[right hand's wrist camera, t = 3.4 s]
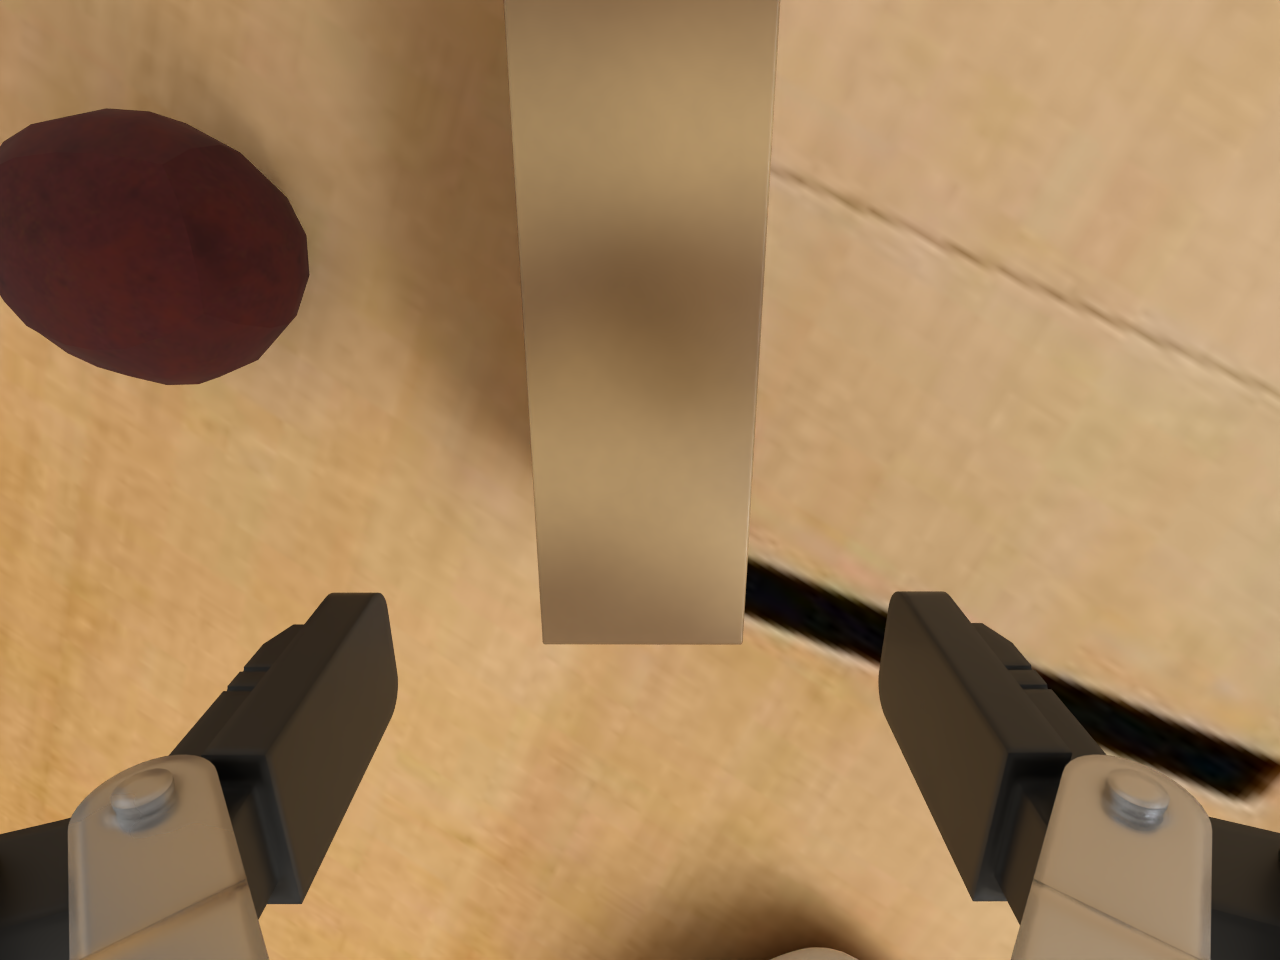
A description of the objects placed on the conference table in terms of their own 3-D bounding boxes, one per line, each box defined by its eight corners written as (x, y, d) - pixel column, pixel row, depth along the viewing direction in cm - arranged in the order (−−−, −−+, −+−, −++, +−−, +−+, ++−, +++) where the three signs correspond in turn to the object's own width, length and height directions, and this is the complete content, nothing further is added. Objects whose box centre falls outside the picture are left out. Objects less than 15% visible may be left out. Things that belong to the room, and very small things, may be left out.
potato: (70, 141, 22) (-169, 115, 16) (310, 108, 22) (166, 67, 15) (155, 371, 25) (-19, 430, 18) (370, 345, 25) (271, 396, 18)
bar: (710, 501, 27) (742, 645, 18) (575, 501, 27) (542, 645, 18) (745, -458, 18) (846, -1116, 9) (539, -456, 18) (434, -1110, 9)
